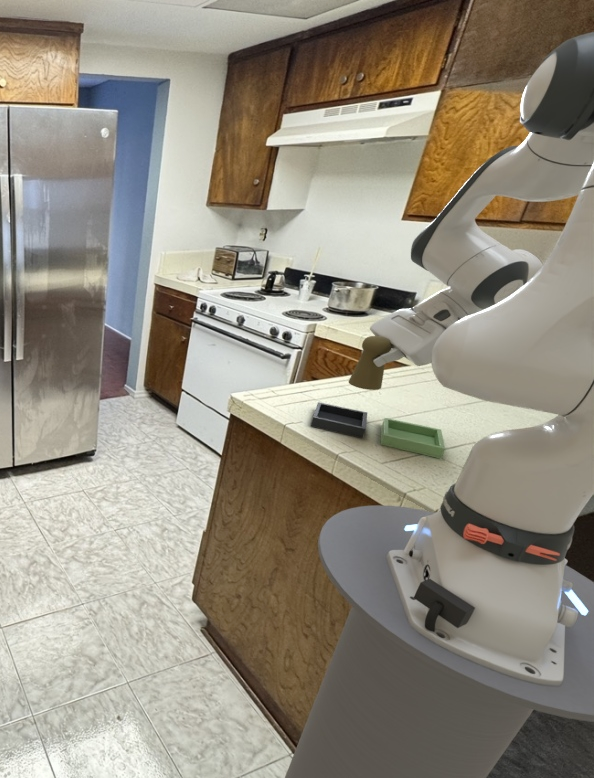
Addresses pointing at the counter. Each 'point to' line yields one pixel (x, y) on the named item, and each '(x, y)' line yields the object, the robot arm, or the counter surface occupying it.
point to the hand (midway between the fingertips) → (369, 359)
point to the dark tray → (340, 420)
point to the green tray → (412, 437)
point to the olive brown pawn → (370, 364)
